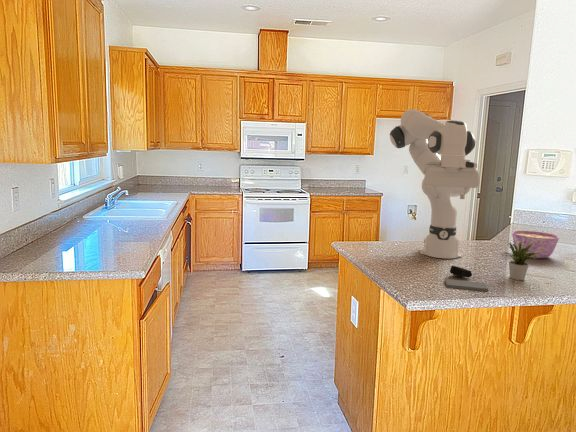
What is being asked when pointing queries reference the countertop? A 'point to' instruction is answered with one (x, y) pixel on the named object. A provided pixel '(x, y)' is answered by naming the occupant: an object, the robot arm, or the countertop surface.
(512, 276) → the house plant
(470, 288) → the gray rectangular block
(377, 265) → the countertop surface
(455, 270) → the tape measure
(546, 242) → the bowl of food
